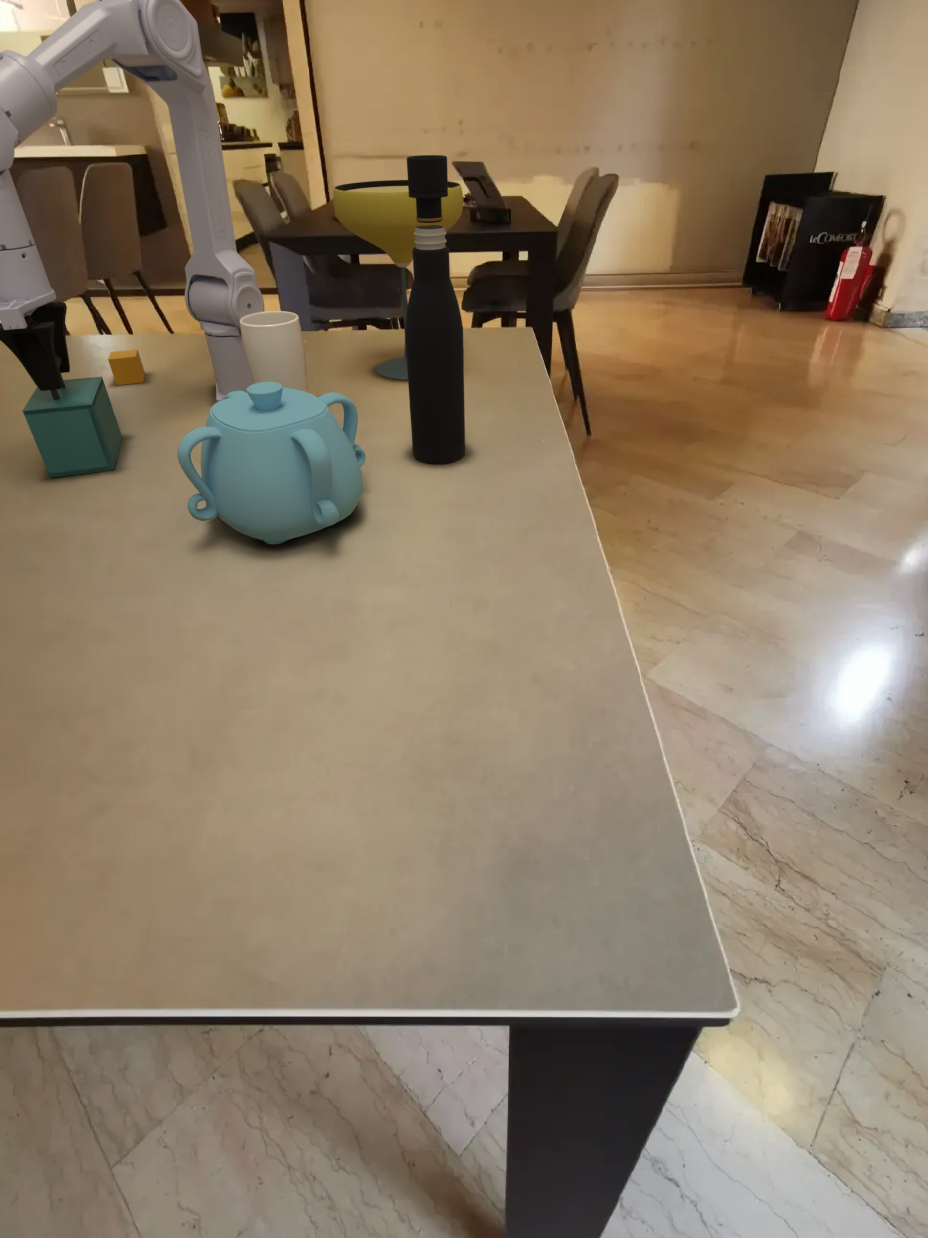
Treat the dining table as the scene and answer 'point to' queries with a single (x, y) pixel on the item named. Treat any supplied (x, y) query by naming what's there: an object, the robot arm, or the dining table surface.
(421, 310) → the black bottle
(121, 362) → the block
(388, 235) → the cocktail glass
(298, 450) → the decorative pot
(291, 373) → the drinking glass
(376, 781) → the dining table surface
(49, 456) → the teal bevelled box
